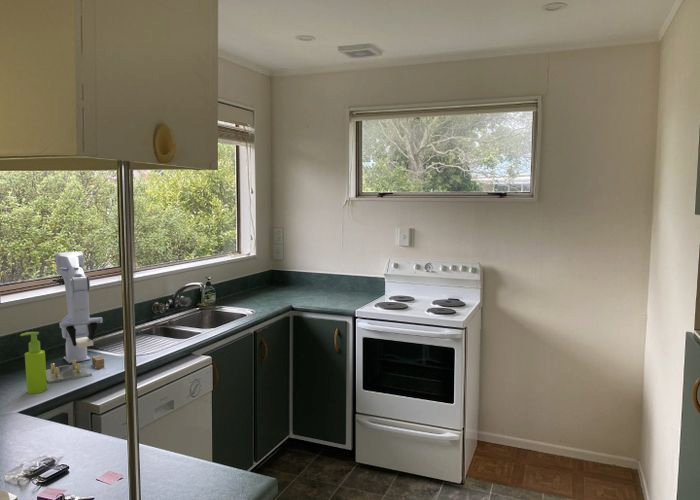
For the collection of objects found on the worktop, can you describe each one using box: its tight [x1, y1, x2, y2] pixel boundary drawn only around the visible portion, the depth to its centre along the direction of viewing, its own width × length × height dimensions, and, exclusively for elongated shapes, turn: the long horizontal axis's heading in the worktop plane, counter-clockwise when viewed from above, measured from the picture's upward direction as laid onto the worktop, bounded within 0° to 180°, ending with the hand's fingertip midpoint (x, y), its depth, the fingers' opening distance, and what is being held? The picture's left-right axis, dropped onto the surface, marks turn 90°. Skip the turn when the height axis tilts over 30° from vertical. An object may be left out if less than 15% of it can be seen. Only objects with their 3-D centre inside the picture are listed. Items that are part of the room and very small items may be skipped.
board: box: [76, 336, 94, 348], centre depth 204 cm, size 9×5×2 cm, turn 40°
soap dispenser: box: [19, 331, 48, 395], centre depth 182 cm, size 6×7×20 cm
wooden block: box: [91, 355, 105, 369], centre depth 210 cm, size 6×3×3 cm, turn 39°
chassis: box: [46, 360, 93, 385], centre depth 200 cm, size 16×14×4 cm
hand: (82, 344), depth 205 cm, fingers closed on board, 5 cm apart
